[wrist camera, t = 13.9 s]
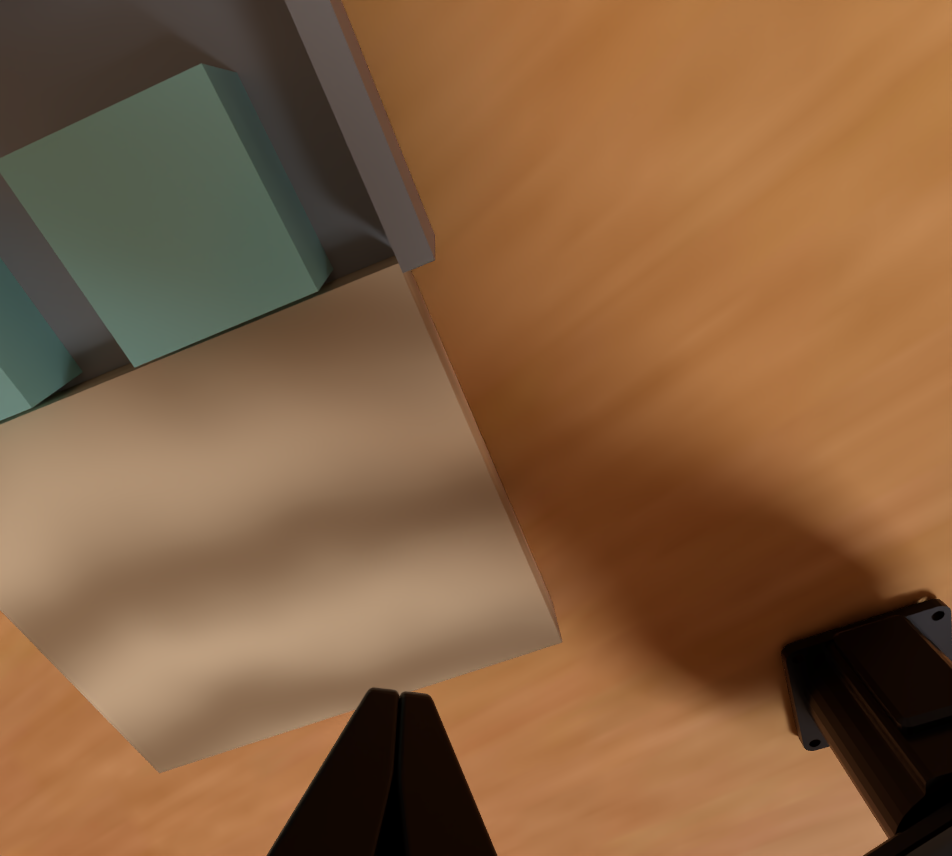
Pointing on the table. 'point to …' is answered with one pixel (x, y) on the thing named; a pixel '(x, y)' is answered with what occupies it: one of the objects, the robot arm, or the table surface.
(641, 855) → the table surface
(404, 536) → the bench plate
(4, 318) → the tile
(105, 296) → the tile
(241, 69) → the tray
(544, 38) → the table surface
